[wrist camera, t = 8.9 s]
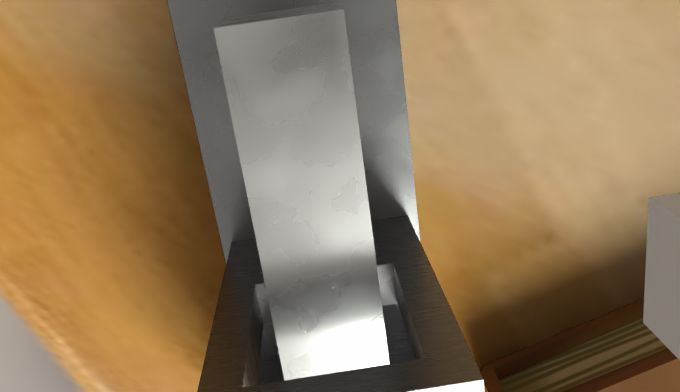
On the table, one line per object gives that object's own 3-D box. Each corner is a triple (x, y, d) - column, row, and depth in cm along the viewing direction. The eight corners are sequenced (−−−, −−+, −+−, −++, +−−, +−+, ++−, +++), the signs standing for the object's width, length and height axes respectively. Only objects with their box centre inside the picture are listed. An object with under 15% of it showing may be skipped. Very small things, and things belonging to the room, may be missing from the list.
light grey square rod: (222, 18, 23) (208, 29, 19) (339, 1, 23) (348, 8, 19) (324, 541, 32) (329, 623, 28) (408, 527, 32) (424, 608, 28)
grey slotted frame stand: (119, -239, 25) (-105, -503, 11) (364, -273, 25) (455, -575, 11) (273, 460, 38) (261, 755, 24) (437, 434, 38) (521, 711, 24)
